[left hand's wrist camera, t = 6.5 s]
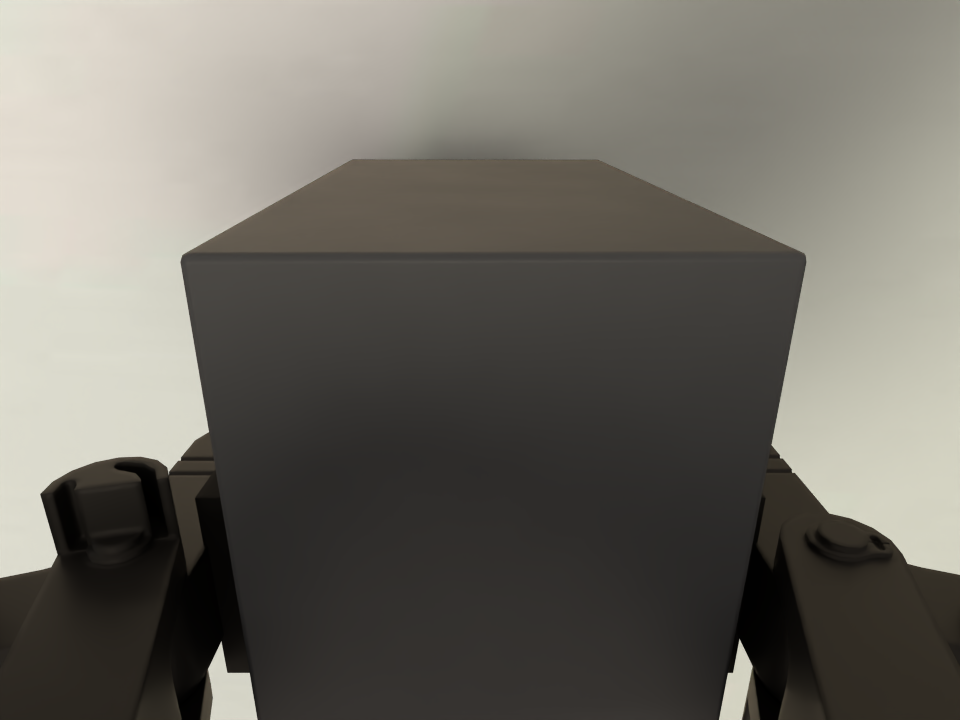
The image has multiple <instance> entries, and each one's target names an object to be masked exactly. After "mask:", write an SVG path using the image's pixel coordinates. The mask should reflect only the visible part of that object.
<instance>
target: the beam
mask: <svg viewBox="0 0 960 720" xmlns="http://www.w3.org/2000/svg"><path fill="white" fill-rule="evenodd" d="M805 266H806V256H805V254H804V253H802V252H800V251H797V250H795V249H793V248H791V247H789V246H786V245H784V244H782V243H780V242H778V241H775V240H773V239H771V238H769V237H767V236H764V235H762V234H760V233H758V232H756V231H753V230H751V229H749V228H747V227H745V226H742V225H740V224H738V223H736V222H734V221H731V220H729V219H727V218H725V217H723V216H720V215H718V214H716V213H714V212H712V211H709V210H707V209H705V208H703V207H700V206H698V205H696V204H694V203H692V202H689V201H687V200H685V199H683V198H681V197H678V196H676V195H674V194H672V193H670V192H667V191H665V190H663V189H661V188H659V187H656V186H654V185H652V184H650V183H648V182H645V181H643V180H641V179H639V178H637V177H634V176H632V175H630V174H628V173H626V172H623V171H621V170H619V169H617V168H615V167H612V166H610V165H608V164H606V163H604V162H601V161H599V160H351V161H349V162H347V163H345V164H344V165H342V166H340V167H338V168H336V169H335V170H333V171H331V172H329V173H328V174H326V175H324V176H322V177H320V178H319V179H317V180H315V181H313V182H312V183H310V184H308V185H306V186H304V187H303V188H301V189H299V190H297V191H296V192H294V193H292V194H290V195H288V196H287V197H285V198H283V199H281V200H280V201H278V202H276V203H274V204H272V205H271V206H269V207H267V208H265V209H264V210H262V211H260V212H258V213H256V214H255V215H253V216H251V217H249V218H247V219H246V220H244V221H242V222H240V223H239V224H237V225H235V226H233V227H231V228H230V229H228V230H226V231H224V232H223V233H221V234H219V235H217V236H215V237H214V238H212V239H210V240H208V241H207V242H205V243H203V244H201V245H199V246H198V247H196V248H194V249H192V250H191V251H189V252H187V253H185V254H183V255H182V258H181V267H182V273H183V279H184V285H185V291H186V297H187V303H188V309H189V315H190V321H191V327H192V333H193V339H194V345H195V350H196V356H197V362H198V368H199V374H200V380H201V386H202V392H203V398H204V404H205V410H206V416H207V422H208V428H209V434H210V439H211V445H212V451H213V457H214V463H215V469H216V475H217V481H218V487H219V493H220V499H221V505H222V511H223V517H224V523H225V528H226V534H227V540H228V546H229V552H230V558H231V564H232V570H233V576H234V582H235V588H236V594H237V600H238V606H239V611H240V617H241V623H242V629H243V635H244V641H245V647H246V653H247V659H248V665H249V671H250V677H251V683H252V689H253V695H254V700H255V706H256V712H257V718H258V720H719V716H720V711H721V706H722V701H723V695H724V690H725V685H726V680H727V674H728V669H729V664H730V659H731V653H732V648H733V643H734V638H735V632H736V627H737V622H738V617H739V612H740V606H741V601H742V596H743V591H744V585H745V580H746V575H747V570H748V564H749V559H750V554H751V549H752V543H753V538H754V533H755V528H756V522H757V517H758V512H759V507H760V502H761V496H762V491H763V486H764V481H765V475H766V470H767V465H768V460H769V454H770V449H771V444H772V439H773V433H774V428H775V423H776V418H777V412H778V407H779V402H780V397H781V392H782V386H783V381H784V376H785V371H786V365H787V360H788V355H789V350H790V344H791V339H792V334H793V329H794V323H795V318H796V313H797V308H798V302H799V297H800V292H801V287H802V282H803V276H804V271H805Z"/></svg>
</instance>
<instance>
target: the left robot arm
mask: <svg viewBox="0 0 960 720" xmlns="http://www.w3.org/2000/svg"><path fill="white" fill-rule="evenodd" d="M40 495H41V498H42V502H43V505H44V509H45V512H46V516H47V519H48V523H49V526H50V530H51V533H52V536H53V540H54V543H55V547H56V550H57V554H58V556H57V557H56V559H55V561H54V563H53V565H52V567H51V568H47V569H43V570H39V571H34V572H29V573H24V574H19V575H14V576H9V577H4V578H0V720H210V715H211V707H212V699H213V696H212V689H211V683H210V678H209V673H208V668H209V666H210V664H211V662H212V660H213V657H214V655H215V653H216V651H217V649H218V647H219V645H220V643H221V641H222V646H223V651H224V657H225V662H226V667H227V673H250V671H249V665H248V659H247V653H246V647H245V641H244V635H243V629H242V623H241V617H240V611H239V606H238V600H237V594H236V588H235V582H234V576H233V570H232V564H231V558H230V552H229V546H228V540H227V534H226V528H225V523H224V517H223V511H222V505H221V499H220V493H219V487H218V481H217V475H216V469H215V463H214V457H213V451H212V445H211V439H210V434H209V433H207V434H205V435H204V436H202V437H200V438H199V439H197V440H195V441H194V443H193V444H192V445H191V446H190V447H189V449H188V450H187V451H186V452H185V453H184V455H183V456H182V457H181V461H178V462H177V463H176V464H175V465H174V467H173V468H172V469H171V470H170V471H169V475H168V470H167V467H166V466H164V465H163V464H162V463H160V462H159V461H158V460H154V459H149V458H144V457H121V458H114V459H109V460H104V461H99V462H95V463H92V464H89V465H86V466H84V467H81V468H78V469H75V470H73V471H71V472H69V473H67V474H65V475H64V476H62V477H60V478H58V479H57V480H55V481H53V482H52V483H51V484H50V485H49V486H48V487H47V488H46V489H45V490H44V491H43V492H42V493H41V494H40ZM739 638H740V640H741V643H742V645H743V647H744V649H745V651H746V653H747V655H748V657H749V659H750V661H751V663H752V665H753V668H752V673H751V678H750V683H749V688H748V692H747V697H746V702H745V707H744V712H743V717H742V720H960V575H957V574H952V573H947V572H942V571H937V570H931V569H926V568H921V567H917V566H913V565H909V564H907V562H906V560H905V558H904V556H903V554H902V553H901V552H900V551H899V549H898V548H897V547H896V546H895V545H894V543H893V542H892V541H891V540H890V539H888V538H887V537H885V536H884V535H882V534H881V533H879V532H878V531H877V530H875V529H874V528H872V527H869V526H867V525H865V524H862V523H860V522H858V521H855V520H853V519H850V518H846V517H842V516H837V515H833V514H829V513H828V512H827V511H826V509H825V508H824V507H823V506H822V505H821V503H820V502H819V501H818V500H817V499H816V498H815V496H814V495H813V494H812V493H811V492H810V490H809V489H808V488H807V487H806V486H805V484H804V483H803V482H802V481H801V480H800V479H799V477H798V476H797V475H796V474H795V473H792V469H791V468H790V467H789V466H788V464H787V463H786V462H785V461H784V460H783V459H780V455H779V454H778V452H777V451H776V450H775V449H774V448H773V447H772V445H771V449H770V454H769V460H768V465H767V470H766V475H765V481H764V486H763V491H762V496H761V502H760V507H759V512H758V517H757V522H756V528H755V533H754V538H753V543H752V549H751V554H750V559H749V564H748V570H747V575H746V580H745V585H744V591H743V596H742V601H741V606H740V612H739V617H738V622H737V627H736V632H735V638H734V643H733V648H732V653H731V659H730V664H729V669H728V673H733V670H734V665H735V659H736V654H737V649H738V643H739Z"/></svg>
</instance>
